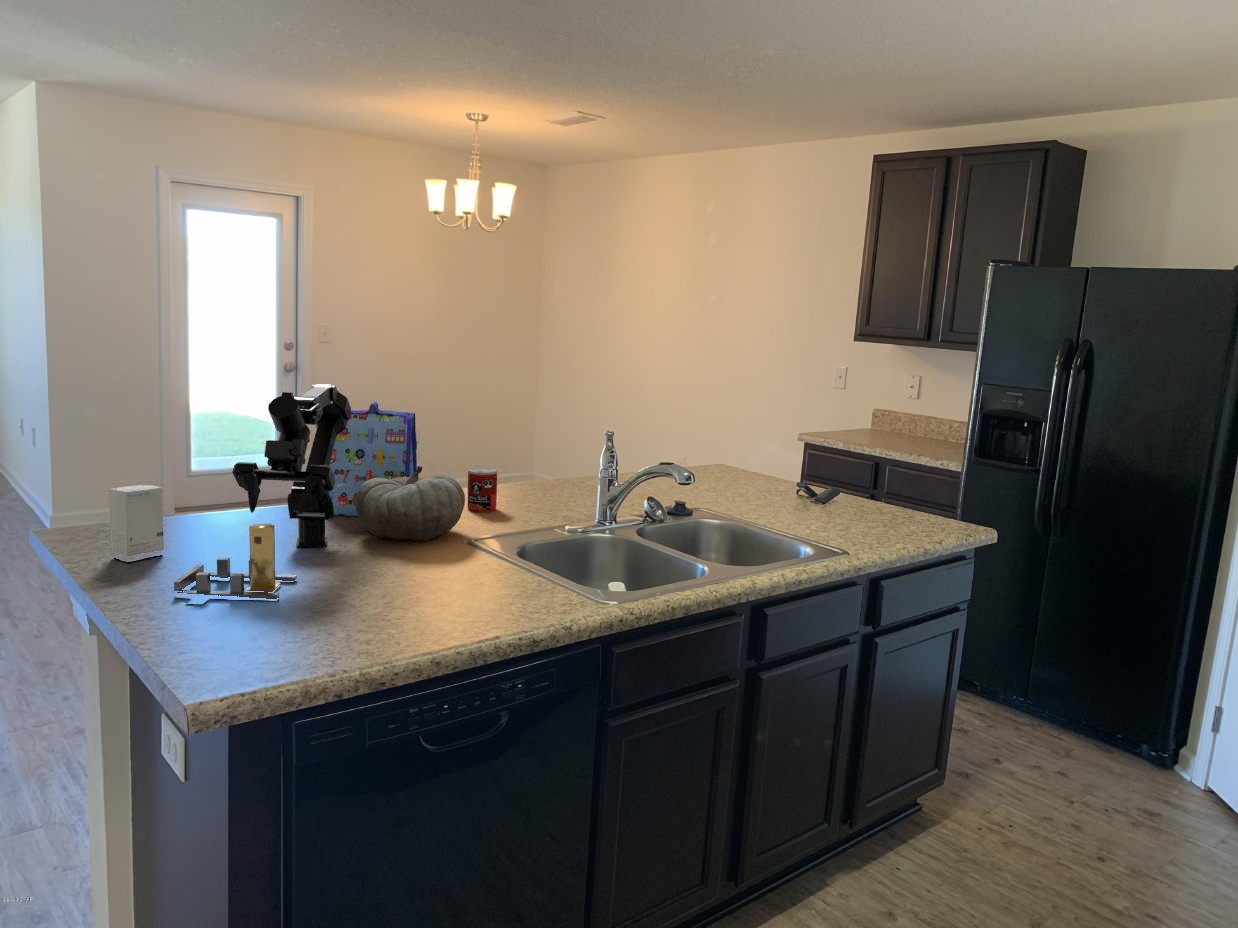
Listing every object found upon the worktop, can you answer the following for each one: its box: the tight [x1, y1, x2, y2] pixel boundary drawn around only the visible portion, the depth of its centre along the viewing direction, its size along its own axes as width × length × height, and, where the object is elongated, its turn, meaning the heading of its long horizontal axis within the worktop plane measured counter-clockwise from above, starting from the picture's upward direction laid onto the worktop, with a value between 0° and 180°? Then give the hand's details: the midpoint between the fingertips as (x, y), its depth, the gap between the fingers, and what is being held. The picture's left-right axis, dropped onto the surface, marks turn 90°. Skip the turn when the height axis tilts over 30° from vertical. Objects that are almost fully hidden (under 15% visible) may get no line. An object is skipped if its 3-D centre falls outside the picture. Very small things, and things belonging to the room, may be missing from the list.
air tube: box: [245, 523, 282, 592], centre depth 168 cm, size 5×5×12 cm
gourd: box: [355, 465, 466, 542], centre depth 211 cm, size 25×25×17 cm
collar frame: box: [173, 556, 298, 599], centre depth 167 cm, size 16×18×4 cm
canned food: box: [467, 466, 498, 513], centre depth 242 cm, size 8×8×11 cm
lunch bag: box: [328, 401, 418, 517], centre depth 231 cm, size 22×14×29 cm, turn 92°
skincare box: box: [108, 484, 165, 556], centre depth 184 cm, size 8×6×15 cm
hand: (275, 512), depth 175 cm, fingers open, 9 cm apart
